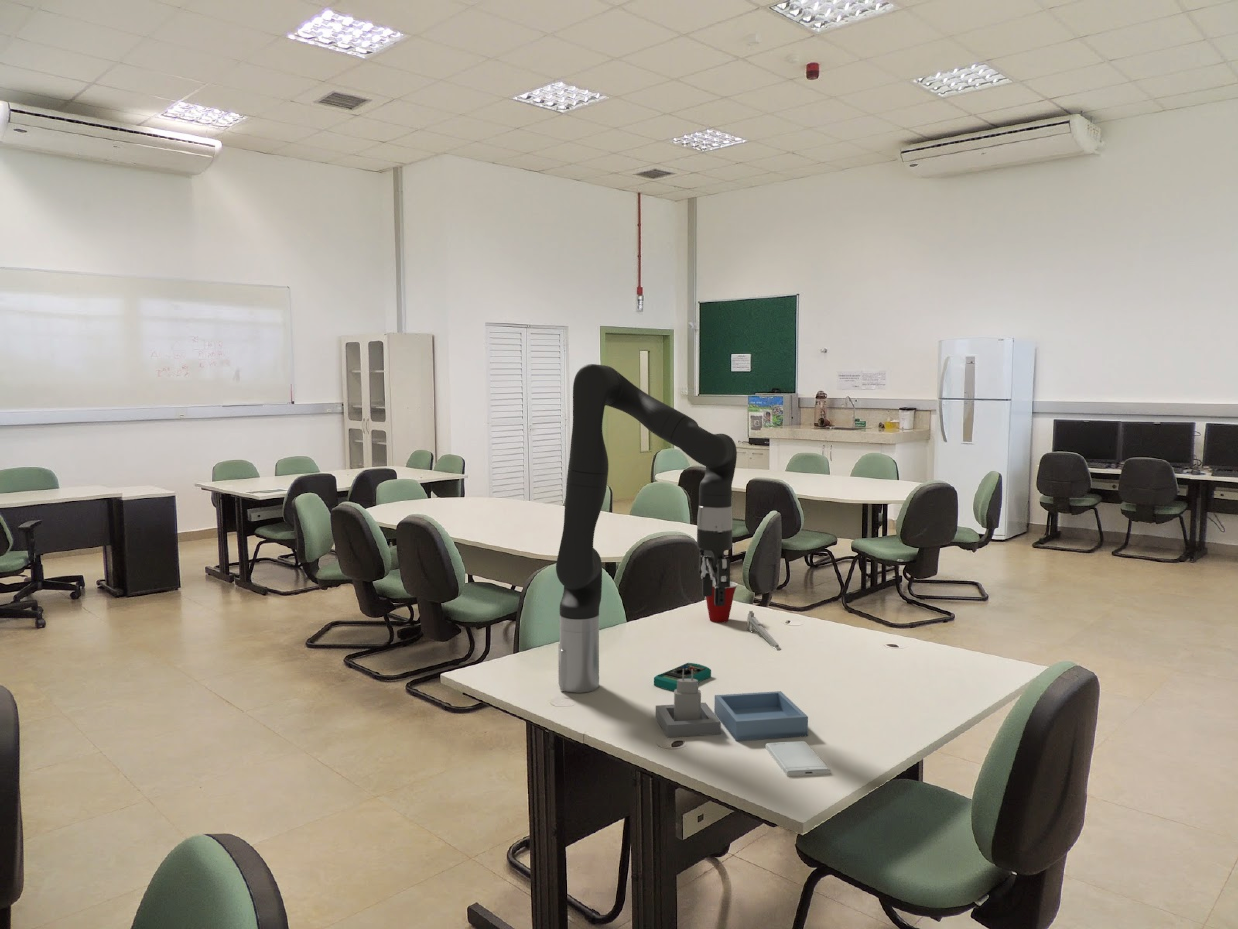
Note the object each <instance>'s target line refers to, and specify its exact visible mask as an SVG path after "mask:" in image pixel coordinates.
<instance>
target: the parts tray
mask: <svg viewBox="0 0 1238 929" xmlns="http://www.w3.org/2000/svg"><path fill="white" fill-rule="evenodd" d="M713 713H714V714H715V715H716V717H717V718H718V719H719V720H720V722H721V724H722V725H723V726H724V727H725V729H726V731H727V732H729V734H730V735H731V737H732V738H733V740H735V742H742V741H744V742H745V741H757V740H770V739H771V740H773V739H785V738H799V737H800V736H801V737H808V732H809V731H808V730H809V716H808V715H807V714H806V713H805V712H804V711H803V710H801V708H800V707H798V706H797V704H795V703H794V702H793V701H792V700H791V699H790V698H789V697H787V695H786V694H785V693H783V691H781V690H780V691H779V690H777V691H764V692H762V691H761V692H747V693H746V692H745V693H743V692H742V693H731V694H729V693H728V694H714V711H713Z"/></svg>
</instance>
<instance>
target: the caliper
mask: <svg viewBox="0 0 1238 929" xmlns="http://www.w3.org/2000/svg"><path fill="white" fill-rule="evenodd" d="M746 620H747V621H746V622H747V623H746V630H747V631H749V632H750V631H753V632H755V633H759V634H760V635H761V636H762V637H763V638H764V639H765V640H766V642H767V643H768V644H769V645H770V646H771V647H772V646H773V647H775V648H776V649H777V650H776V649H775V648H774V649H775V650H776V651H781V647H780V646H779V643H778V642H777V641H776V640H775V639H774V637H772V636H771V634H769V632H768V631H766V629H765V628H764V627H763V626H762V624H761V622H760V621H759V620H758V619H757V617H755V612H753V610H749V612H748V614H747V618H746ZM754 630H755V631H754ZM773 647H772V648H773Z"/></svg>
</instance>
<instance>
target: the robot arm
mask: <svg viewBox="0 0 1238 929" xmlns="http://www.w3.org/2000/svg"><path fill="white" fill-rule="evenodd" d="M573 379H574V380H573V384H572V385H573V386H572V428H571V429H572V430H571V439H570V447H569V448H570V450H569V460H568V468H567V474H566V486H565V487H566V489H565V499H564V516H563V528H562V534H561V540H560V545H559V549H558V553H557V557H556V558H557V559H556V564H555V572H556V576H557V579H558V581H559V582H560V583H561V585H563V592H562V597H561V600H560V603H559V643H558V645H557V646H558V686H559V689H560V691H561V692H568V693H576V694H577V693H579V694H580V693H581V694H582V693H589V692H592V691H595V690H598V688H599V687H600V605H601V601H602V590H603V589H602V588H603V584H602V583H603V562H602V559H601V556H600V553H599V551H597V550H596V549H595V548H594V538H595V532H596V527H597V523H598V519H599V517H600V514H601V511H602V508H603V504H604V501H605V498H606V497H605V496H606V493H607V492H606V491H607V487H608V486H607V485H608V477H609V457H608V453H607V448H606V444H605V439H604V434H603V420H604V415H605V414H604V413H605V409H606V408H605V407H606V406H607V407H611V408H613V409H615V410H618V411H622V412H623V413H626V414H627V415H629V416H631V417H632V418H634V419H635V420H637V421H638V422H639V423H640V424H641V425H642V426H644V427H645V428H646V429H647V430H649V432H651V433H652V434H653V435H655V436H657V437H658V438H660V439H663V440H664V441H665V442H667V443H669V444H671V445H672V446H674V447H677V448H678V449H680V450H681V451H682V452H683V453H684V454H686V455H687V456H688V457H689V458H691V459H692V460H694V461H695V462H696V463H698V464H700V465H702V466H704V467H705V470H704V477H703V478H702V480H700V483H699V486H698V511H697V518H696V519H697V520H696V522H697V524H696V547H697V549H699V550H698V551H699V552H698V554H699V556H698V575H700V578H701V583H702V584H701V595H702V597H705V598H706V597H707V596H712V592H713V581H714V587H715V588H714V604H715V605H716V606H724V605H725V588H727V587H730V581H731V560H730V558H726V557H725V552H726V551H729V550H731V549H732V547H733V510H732V509H733V508H732V504H733V503H732V499H733V498H732V496H733V495H732V494H733V490H732V488H733V487H732V486H733V480H734V477H735V471H736V465H737V460H738V459H737V456H738V454H737V453H738V452H737V446H736V442H735V441H734V439H733V438H732V437H731V436H730V435H728V434H726V433H712V432H710V431H708V430H706V429H704V428H703V427H701V426H699V424H698V422H697V421H696V420H694V418H692V417H690V416H688V415H687V414H684V412H681V411H679V410H677V409H675V408H674V407H672V406H671V405H668V404H666V403H665V402H662V401H660V400H658V399H657V398H654V396H651V395H649V394H648V393H646V392H645V391H643V390H642V389H640V388H639V387H638V386H636V385H634V384H633V382H631V381H630V380H629V379H627V378H626V377H625V376H624V375H623V374H621V373H620V372H618V371H617V370H616V369H614V368H613V367H612V366H608V365H605V364H603V365H602V364H597V363H588V364H586V365H582V366H581V368H579V369H578V371H577V372H576V373H575V377H574V378H573ZM712 579H713V580H712ZM721 580H722V582H721Z"/></svg>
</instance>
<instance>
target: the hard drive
mask: <svg viewBox="0 0 1238 929" xmlns="http://www.w3.org/2000/svg"><path fill="white" fill-rule="evenodd" d="M765 750H766V751H767V752H768V754H769V755H770V756H771V758H772V759H773V760H774V761H775V763H776V765H778V767H779V768H780V769H781V771H782V772H783V773H784V775H785V776H786V777H797V776H802V777H803V776H816V775H830V774H831V768H829V767H828V766H827V764H826V763H825V762H824V761H823V760H822V759H821V758H820V756H819V755H818V754H817V753H816V752H815V751H814V750H813V748H812V747H811V746H810V745H809V744H808V743H807V742H806V741H805V740H802V741H801V740H799V741H784V742H783V741H782V742H769V743H768V742H767V743H766V744H765Z"/></svg>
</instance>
